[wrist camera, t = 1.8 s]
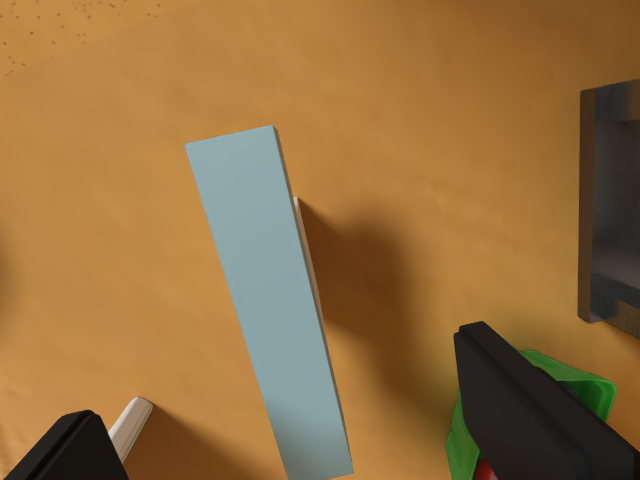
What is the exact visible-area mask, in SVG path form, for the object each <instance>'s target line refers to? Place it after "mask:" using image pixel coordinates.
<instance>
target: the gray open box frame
mask: <svg viewBox="0 0 640 480" xmlns="http://www.w3.org/2000/svg"><path fill="white" fill-rule="evenodd" d="M578 317H580V318H582V319H584V320H585V321H587V322H589V323H593V322H598V321H602V320H605V321H607V322H609V323H610V324H612V325H614V326H616V327H618V328H619V329H621V330H623V331H625V332H627V333H628V334H630V335H632V336H634V337H636V338H637V339H639V340H640V78H638V79H634V80H629V81H625V82H620V83H615V84H611V85H606V86H601V87H597V88H592V89H588V90H583V91H581V110H580V189H579V268H578Z"/></svg>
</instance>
